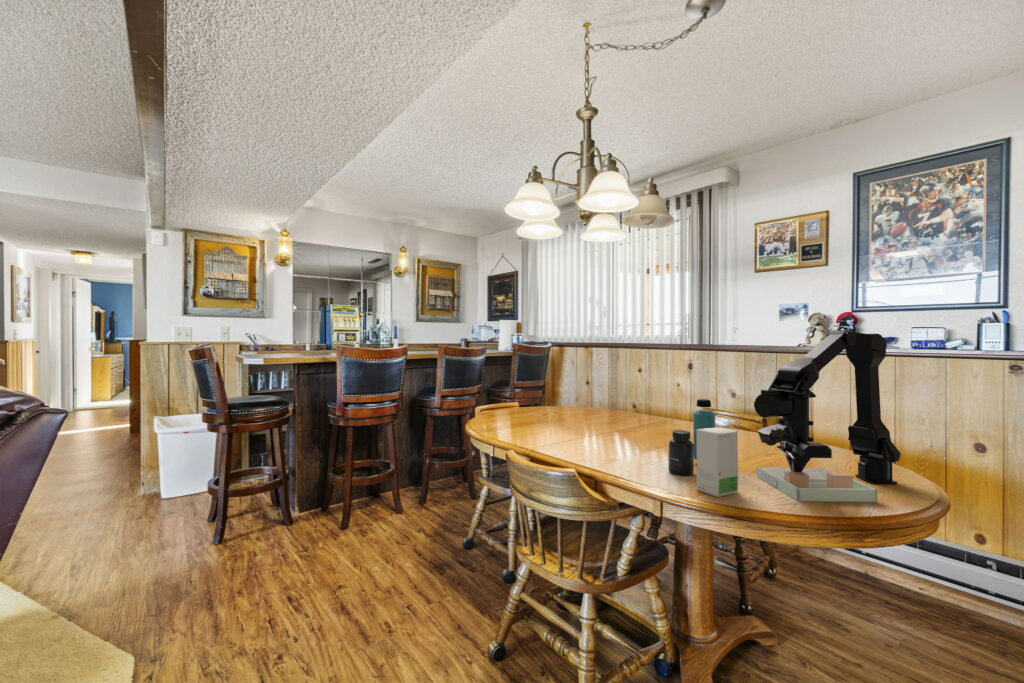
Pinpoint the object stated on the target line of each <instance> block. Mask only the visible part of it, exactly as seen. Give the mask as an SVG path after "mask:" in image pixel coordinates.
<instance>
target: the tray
mask: <svg viewBox="0 0 1024 683" xmlns="http://www.w3.org/2000/svg"><path fill="white" fill-rule="evenodd" d="M776 489H777V490H779V491H780V492H782V493H783V494H785V495H787V496H788V497H790V498H791V499H792V500H795V501H796V502H806V503H807V502H815V503H817V502H818V503H819V502H820V503H821V502H822V503H875V504H877V503H878V489H877V488H874V487H873V486H870V485H867V484H865V483H863V482H861V481H858V480H855V479H854V478H853V489H832V488H827V482H815V481H809V488H798V487H796V486H794V485H792V484H790V483H789V482H787V481H785V480H783V479H782V478H780V477H777V488H776Z"/></svg>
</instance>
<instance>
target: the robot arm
mask: <svg viewBox="0 0 1024 683" xmlns="http://www.w3.org/2000/svg"><path fill="white" fill-rule="evenodd" d="M887 347H888V343H887V340H886V338H885V337H883V335H882V334H880V333H862V332H857V331H853V330H850V329H844V330H843V329H842V330H841V329H840V330H839V329H838V330H835V329H834V330H832V331H829V333H828V334H827V336H826V337H825V338H824V339H823V340H821V341H820V342H819V343H818V344H817V345H816V346H815V347H813V348H812V349H811V350H810V351H809V352H807V353H806V354H805V355H804V356H802V357H801V358H799V359H796V360H795V359H794V360H793V361H790V362H787V363H786V364H784V365H782V366H781V367H780V368H778V371H777V374H776V375H775V377H774V379H773V381H772V382H771V383H770V385H769V387H768V389H761V390H760V394H759V395H758V396H756V398H755V399H754V402H753V406H754V411H755V412H756V414H757V415H758V416H760V417H761V418H763V419H765V418H776V417H777V418H778V419H777V423H776V424H772V425H771V424H770V425H769V426H766V427H763V428H760V429H758V430H757V434H758V436H759V438H760V442H761V443H763V444H765V445H767V446H770V447H771V446H775V445H776V444H779V445H777V446H776V448H777V449H778V450H780V451H781V452H782V453H784V456H785V457H786V461H787V463H788V466H789V467H788V468H790V470H791V472H802V471H803V469H804V468H806V466H807V464H808V463H809V462H810V460H811V459H832V458H833V449H832V448H831V447H830V446H828V445H826V444H824V443H821V442H817V441H814V437H812V436H810V426H814V421H813V420H810V399H811V398H814V399H815V398H816V397H817V394H815V393H814V392H813V391H811V390H810V389H811V388H812V387H813V386H814V385H815V384H816V383H817V381H818V380H819V379H820V372H821V370H823V369H824V368H825V367H826V366H827V365H828V364H829V363H831V361H832V360H834V359H835V358H836V357H837V356H838V355H840V354H841V353H842V352H843V351H845V354H846V358H847V359H848V360H849V362H850V363H851V364H852V365H853V367H854V379H855V380H854V381H855V382H854V384H855V386H854V387H855V399H856V421H855V422H854V423H853V424H852V425H848V427H847V431H848V438H847V440H848V441H849V444H850V447H851V450H852V453H853V455H855V456H856V455H857V456H859V461H858V462H857V474H854V475H855V477H857V478H859V479H861V480H864V481H866V482H868V483H871V484H876V485H877V484H881V485H882V484H883V485H892V484H894V485H895V484H897V485H898V481H896V480H894V479H893V463H897V462H899V461H900V458H901V451H900V450H899V449H898V448H897V446H896V445H895V444H894V442H892V438H891V433H890V430H889V429H888V428H887V426H886V425H885V423H884V421H882V418H881V417H882V415H881V413H882V412H881V395H880V394H881V393H880V376H879V374H880V373H879V372H880V371H879V367H880V364H882V363H883V361H884V360H885V358H886V356H887Z"/></svg>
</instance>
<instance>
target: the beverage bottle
mask: <svg viewBox="0 0 1024 683" xmlns="http://www.w3.org/2000/svg"><path fill="white" fill-rule="evenodd" d="M696 407H697V408H699V407H700V408H711V407H712V402H711V400H710V399H706V398H702V399H701V398H700V399H697V400H696ZM692 416H693V419H692V420H693V431H692V432H693V433H692V443H693V444H694V461H697V432H696V430H697V429H705V428H716V414H715V412H713V411H712V410H709V409H696V410H695V411H694V412H693V413H692Z"/></svg>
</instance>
